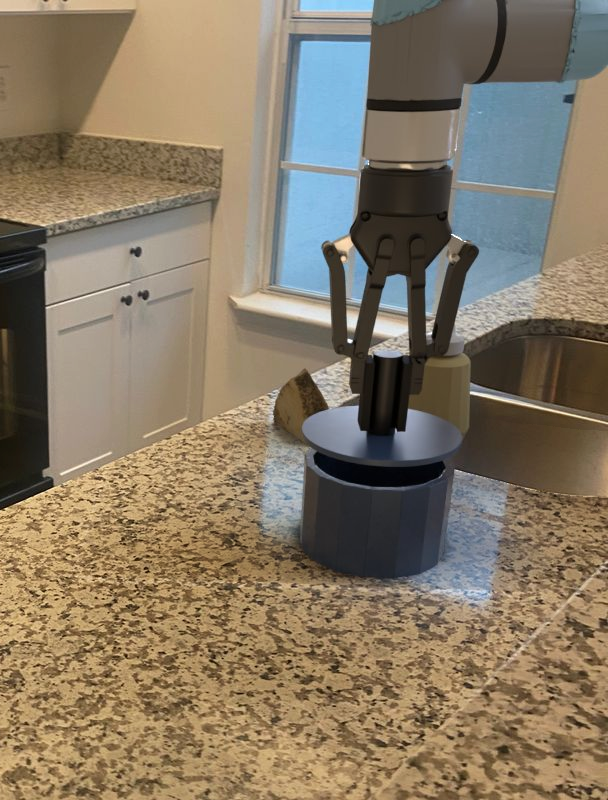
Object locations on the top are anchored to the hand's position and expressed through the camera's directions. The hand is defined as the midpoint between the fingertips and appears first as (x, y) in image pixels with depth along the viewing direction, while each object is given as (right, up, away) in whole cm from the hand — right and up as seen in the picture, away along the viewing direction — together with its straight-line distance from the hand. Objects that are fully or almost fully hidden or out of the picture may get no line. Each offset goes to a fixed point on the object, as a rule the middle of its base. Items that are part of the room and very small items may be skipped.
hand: (381, 425), depth 96 cm
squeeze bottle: (+14, -1, +28) cm, 31 cm away
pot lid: (0, -1, 0) cm, 1 cm away
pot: (0, -12, +6) cm, 13 cm away
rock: (0, +1, +33) cm, 33 cm away
